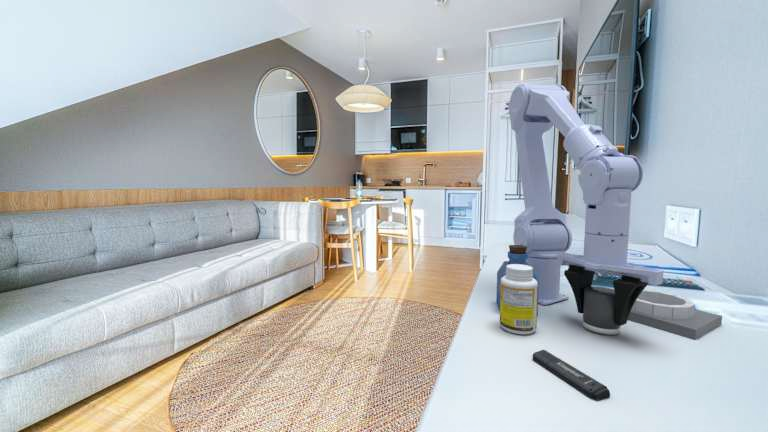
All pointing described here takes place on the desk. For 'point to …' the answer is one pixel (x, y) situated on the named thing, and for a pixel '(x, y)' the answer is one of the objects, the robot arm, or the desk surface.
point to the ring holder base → (672, 314)
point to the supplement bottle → (518, 300)
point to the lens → (600, 310)
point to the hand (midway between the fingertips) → (601, 317)
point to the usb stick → (572, 375)
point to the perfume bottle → (515, 257)
